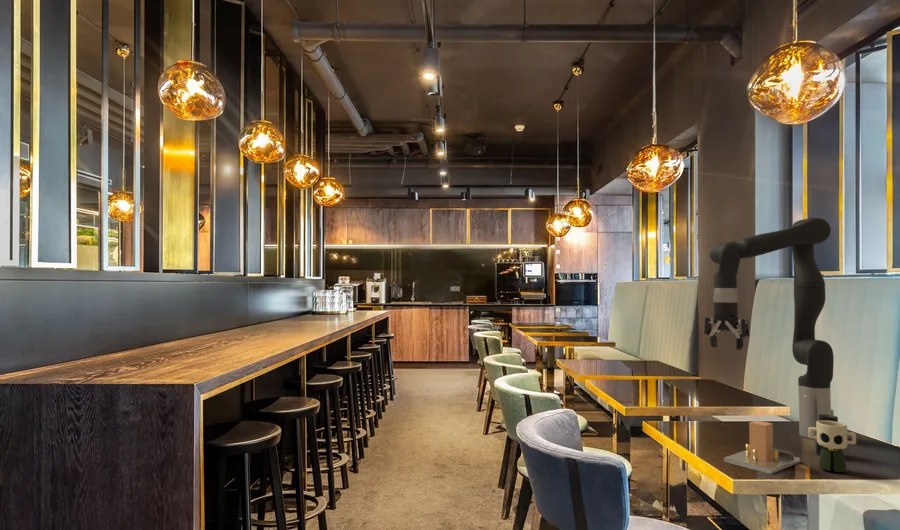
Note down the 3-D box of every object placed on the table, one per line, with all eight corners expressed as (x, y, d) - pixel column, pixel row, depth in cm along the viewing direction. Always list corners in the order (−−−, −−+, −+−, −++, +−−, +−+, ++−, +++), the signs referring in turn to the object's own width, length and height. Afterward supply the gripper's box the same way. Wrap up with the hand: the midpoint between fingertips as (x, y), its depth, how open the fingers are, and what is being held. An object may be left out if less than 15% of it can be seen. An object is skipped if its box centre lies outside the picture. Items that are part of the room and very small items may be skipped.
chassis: (753, 451, 170) (753, 437, 170) (799, 462, 160) (799, 447, 160) (723, 461, 160) (723, 447, 160) (771, 474, 149) (770, 458, 149)
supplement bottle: (834, 460, 162) (833, 419, 162) (810, 454, 168) (809, 414, 168) (847, 457, 165) (846, 416, 165) (823, 451, 171) (822, 412, 171)
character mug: (808, 469, 153) (807, 422, 153) (809, 463, 158) (808, 418, 159) (857, 477, 146) (855, 428, 147) (856, 470, 152) (855, 423, 153)
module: (757, 454, 163) (756, 420, 163) (773, 458, 159) (772, 423, 160) (749, 457, 160) (749, 422, 161) (766, 461, 157) (765, 425, 157)
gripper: (752, 301, 185) (753, 349, 185) (711, 300, 197) (712, 346, 196) (741, 301, 181) (742, 351, 180) (700, 300, 192) (700, 347, 192)
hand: (726, 348), depth 188 cm, fingers open, 8 cm apart
